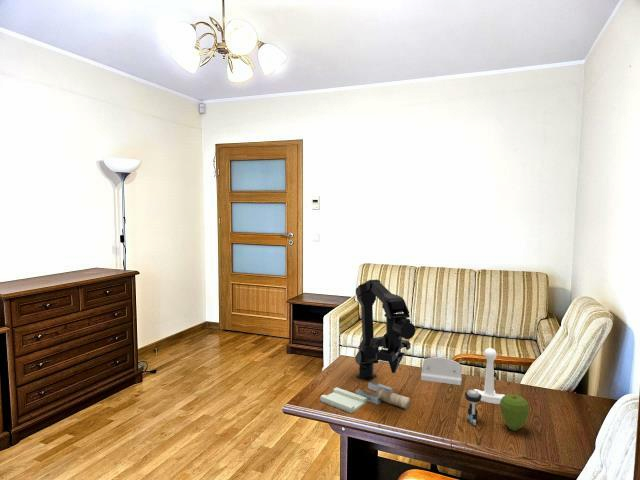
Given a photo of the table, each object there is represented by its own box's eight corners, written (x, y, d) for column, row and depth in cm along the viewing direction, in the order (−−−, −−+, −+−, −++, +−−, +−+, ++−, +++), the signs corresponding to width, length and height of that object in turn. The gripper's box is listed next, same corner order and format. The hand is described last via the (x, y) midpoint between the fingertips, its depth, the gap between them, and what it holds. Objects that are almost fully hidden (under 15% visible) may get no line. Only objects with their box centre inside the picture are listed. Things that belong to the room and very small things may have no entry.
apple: (533, 430, 134) (535, 396, 133) (518, 438, 130) (520, 403, 129) (508, 419, 141) (510, 386, 141) (493, 426, 137) (495, 392, 136)
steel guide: (370, 387, 166) (371, 381, 166) (392, 394, 160) (392, 388, 160) (355, 396, 158) (355, 390, 158) (378, 404, 152) (378, 398, 151)
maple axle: (377, 401, 156) (374, 394, 154) (382, 393, 159) (379, 386, 157) (405, 411, 149) (403, 403, 147) (410, 402, 151) (408, 395, 149)
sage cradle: (336, 392, 162) (336, 387, 162) (366, 402, 153) (366, 397, 153) (320, 401, 154) (320, 396, 154) (351, 413, 145) (351, 407, 145)
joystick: (472, 399, 156) (474, 347, 154) (475, 391, 163) (476, 342, 161) (504, 405, 151) (506, 352, 149) (505, 397, 158) (507, 346, 156)
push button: (482, 427, 136) (483, 398, 135) (466, 425, 137) (466, 396, 136) (479, 417, 143) (480, 389, 142) (462, 415, 144) (463, 387, 143)
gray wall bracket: (420, 379, 174) (421, 355, 176) (421, 379, 178) (422, 355, 180) (462, 385, 168) (462, 360, 171) (461, 384, 173) (462, 360, 175)
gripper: (384, 322, 164) (384, 360, 165) (362, 334, 148) (362, 376, 149) (411, 326, 157) (410, 366, 158) (391, 339, 142) (391, 383, 143)
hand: (393, 372), depth 152 cm, fingers closed
